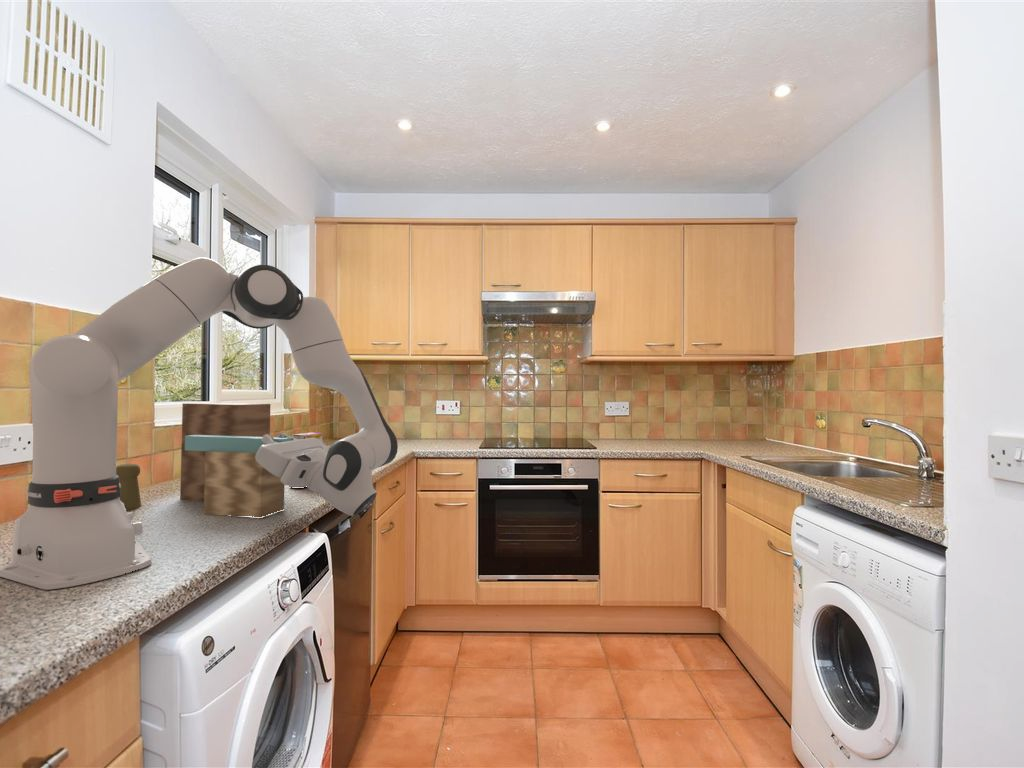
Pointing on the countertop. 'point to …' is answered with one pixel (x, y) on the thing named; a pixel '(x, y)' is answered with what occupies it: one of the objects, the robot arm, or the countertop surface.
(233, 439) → the teal bar
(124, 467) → the cork
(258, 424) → the walnut stand
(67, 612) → the countertop surface
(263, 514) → the oak block
